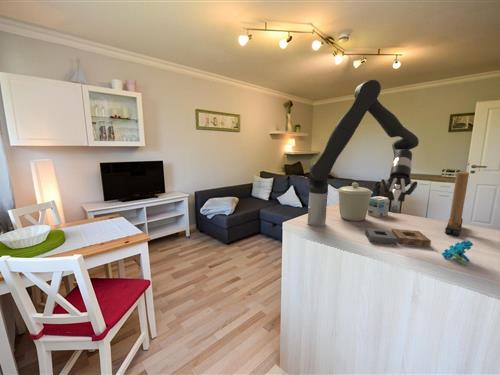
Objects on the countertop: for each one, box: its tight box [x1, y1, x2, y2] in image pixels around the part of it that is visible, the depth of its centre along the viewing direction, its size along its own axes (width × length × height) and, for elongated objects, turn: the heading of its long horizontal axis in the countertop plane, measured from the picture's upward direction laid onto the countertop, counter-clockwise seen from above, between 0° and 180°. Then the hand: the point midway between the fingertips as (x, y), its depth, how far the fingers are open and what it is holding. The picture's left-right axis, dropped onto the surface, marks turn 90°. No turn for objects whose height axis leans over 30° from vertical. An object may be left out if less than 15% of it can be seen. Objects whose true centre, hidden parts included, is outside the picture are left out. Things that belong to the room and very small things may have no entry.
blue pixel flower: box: [441, 240, 474, 267], centre depth 80 cm, size 11×6×10 cm
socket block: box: [364, 227, 398, 246], centre depth 99 cm, size 10×10×3 cm
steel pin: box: [390, 184, 402, 214], centre depth 95 cm, size 3×3×12 cm
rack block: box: [390, 228, 432, 248], centre depth 97 cm, size 11×11×3 cm
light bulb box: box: [367, 195, 391, 218], centre depth 134 cm, size 11×7×11 cm, turn 117°
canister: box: [337, 182, 374, 222], centre depth 126 cm, size 18×18×21 cm
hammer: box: [444, 171, 470, 236], centre depth 105 cm, size 20×5×30 cm, turn 134°
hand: (395, 200), depth 94 cm, fingers closed on steel pin, 3 cm apart
